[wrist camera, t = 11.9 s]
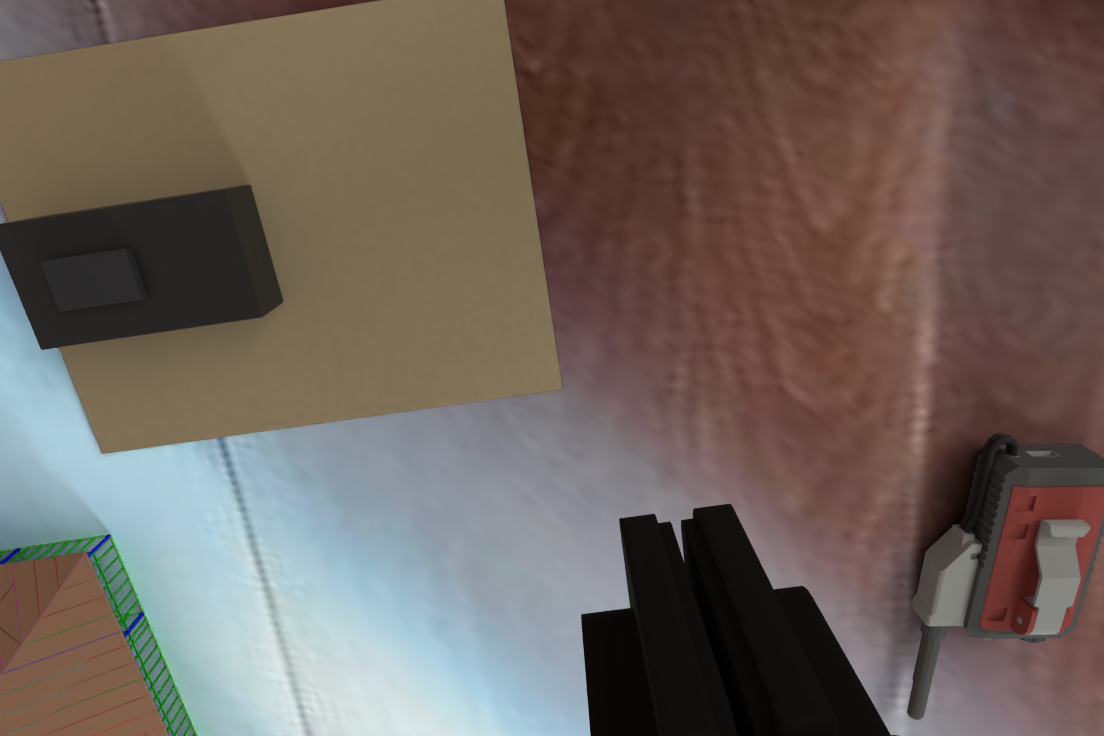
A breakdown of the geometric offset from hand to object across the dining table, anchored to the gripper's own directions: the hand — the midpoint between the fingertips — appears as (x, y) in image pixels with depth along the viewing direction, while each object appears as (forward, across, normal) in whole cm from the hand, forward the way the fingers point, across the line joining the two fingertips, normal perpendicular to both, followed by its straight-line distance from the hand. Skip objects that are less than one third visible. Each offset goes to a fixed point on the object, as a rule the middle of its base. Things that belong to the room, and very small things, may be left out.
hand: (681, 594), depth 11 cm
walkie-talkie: (+27, -22, +23) cm, 42 cm away
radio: (+25, +16, -3) cm, 30 cm away
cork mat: (+27, +15, -3) cm, 31 cm away
